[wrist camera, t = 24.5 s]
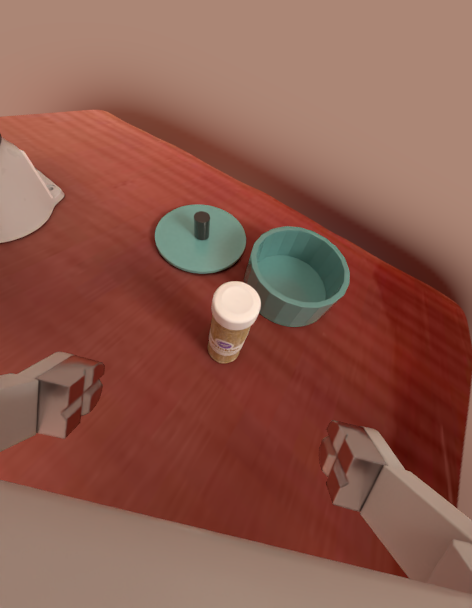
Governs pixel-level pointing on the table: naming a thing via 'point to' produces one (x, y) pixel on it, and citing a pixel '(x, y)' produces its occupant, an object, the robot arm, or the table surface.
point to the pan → (296, 275)
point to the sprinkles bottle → (231, 319)
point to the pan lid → (200, 239)
